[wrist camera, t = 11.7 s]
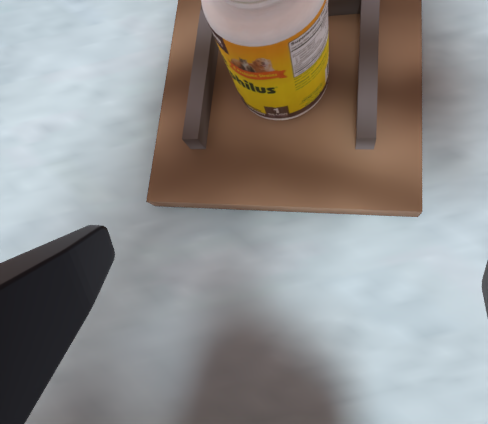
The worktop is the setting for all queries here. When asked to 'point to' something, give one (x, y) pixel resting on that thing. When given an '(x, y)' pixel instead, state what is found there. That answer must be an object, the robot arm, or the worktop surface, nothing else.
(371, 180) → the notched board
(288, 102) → the supplement bottle
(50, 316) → the robot arm
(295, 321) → the worktop surface
